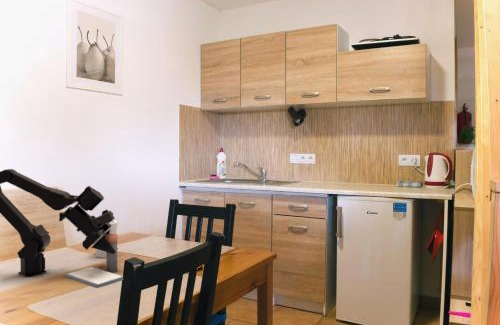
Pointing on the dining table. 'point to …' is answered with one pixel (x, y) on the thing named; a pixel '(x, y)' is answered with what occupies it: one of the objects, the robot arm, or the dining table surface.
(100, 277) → the notebook
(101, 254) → the foam cup
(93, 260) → the dining table surface
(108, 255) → the cylinder
